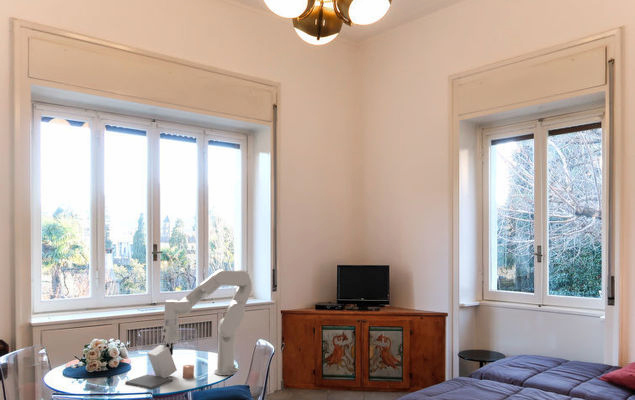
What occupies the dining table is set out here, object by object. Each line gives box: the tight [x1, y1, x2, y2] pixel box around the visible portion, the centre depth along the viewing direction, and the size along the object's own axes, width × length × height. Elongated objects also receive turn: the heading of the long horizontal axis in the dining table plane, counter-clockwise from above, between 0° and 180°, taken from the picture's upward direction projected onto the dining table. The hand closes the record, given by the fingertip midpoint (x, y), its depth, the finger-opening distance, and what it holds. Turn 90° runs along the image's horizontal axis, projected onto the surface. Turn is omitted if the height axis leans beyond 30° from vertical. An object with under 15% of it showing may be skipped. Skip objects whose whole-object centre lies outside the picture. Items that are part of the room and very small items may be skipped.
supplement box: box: [147, 344, 178, 378], centre depth 289 cm, size 9×9×15 cm
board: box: [125, 373, 173, 390], centre depth 279 cm, size 18×16×1 cm
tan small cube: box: [182, 364, 195, 380], centre depth 291 cm, size 6×6×6 cm
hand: (169, 355), depth 294 cm, fingers closed
